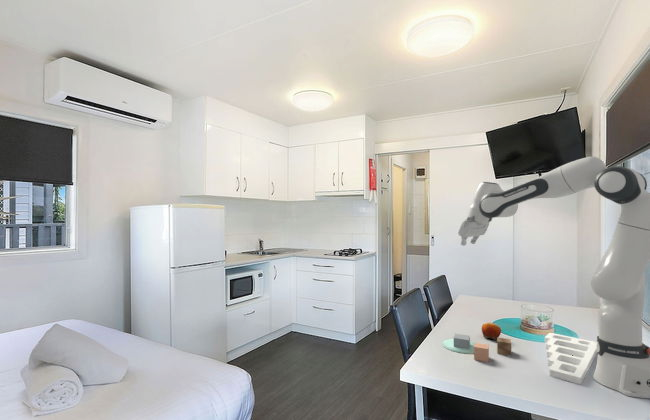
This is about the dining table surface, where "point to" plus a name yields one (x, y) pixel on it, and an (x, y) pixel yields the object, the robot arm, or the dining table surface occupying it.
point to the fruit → (491, 330)
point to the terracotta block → (481, 352)
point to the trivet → (569, 356)
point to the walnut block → (504, 346)
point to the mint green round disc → (460, 344)
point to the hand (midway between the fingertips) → (467, 244)
